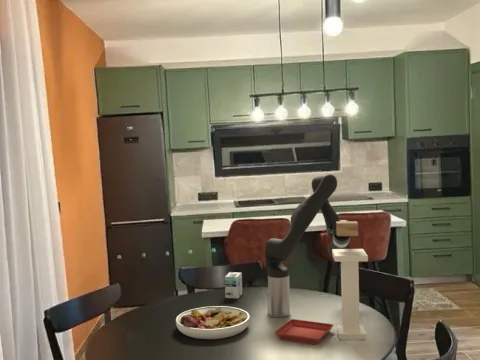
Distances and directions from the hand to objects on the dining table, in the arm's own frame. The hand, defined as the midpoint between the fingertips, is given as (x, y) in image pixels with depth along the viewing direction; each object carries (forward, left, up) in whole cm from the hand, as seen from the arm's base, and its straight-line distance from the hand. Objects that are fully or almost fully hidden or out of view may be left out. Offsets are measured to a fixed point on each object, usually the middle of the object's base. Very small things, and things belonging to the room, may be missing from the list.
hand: (344, 222), depth 217 cm
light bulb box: (-37, +51, -41) cm, 75 cm away
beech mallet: (-2, -4, -3) cm, 5 cm away
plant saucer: (-24, -13, -41) cm, 50 cm away
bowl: (-56, +7, -41) cm, 70 cm away
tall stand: (-7, -18, -41) cm, 45 cm away
